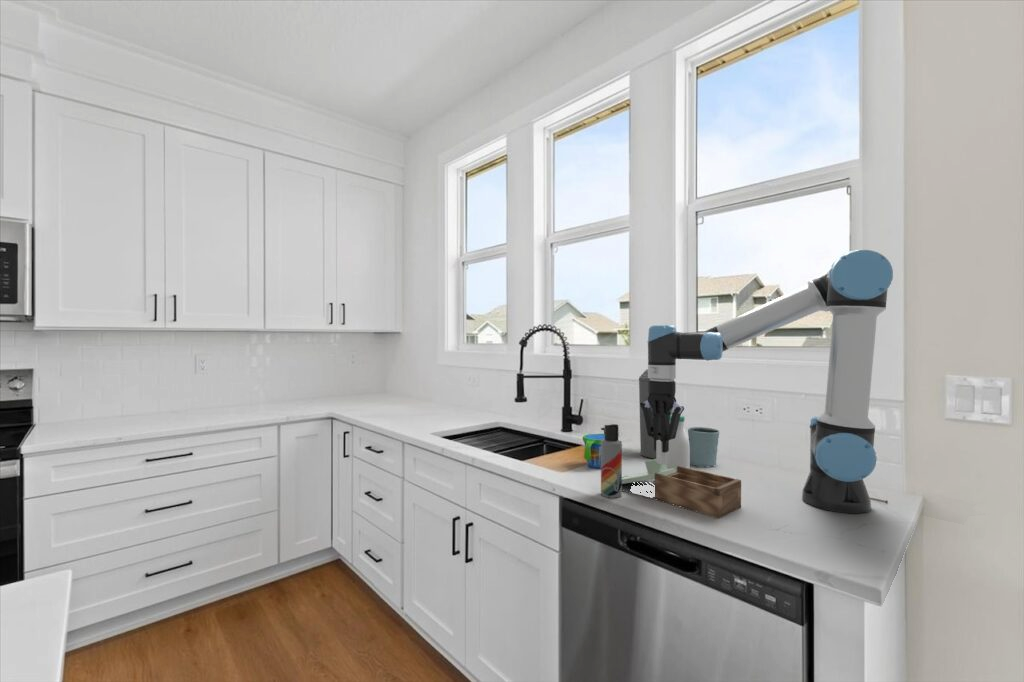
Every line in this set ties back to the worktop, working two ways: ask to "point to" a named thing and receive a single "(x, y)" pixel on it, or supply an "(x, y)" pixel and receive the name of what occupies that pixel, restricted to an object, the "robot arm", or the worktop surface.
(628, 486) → the mat
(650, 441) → the canister
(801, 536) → the worktop surface
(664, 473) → the lid
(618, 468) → the lotion bottle
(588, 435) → the snack cup
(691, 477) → the walnut box
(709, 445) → the teal cup
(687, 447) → the milk bottle
